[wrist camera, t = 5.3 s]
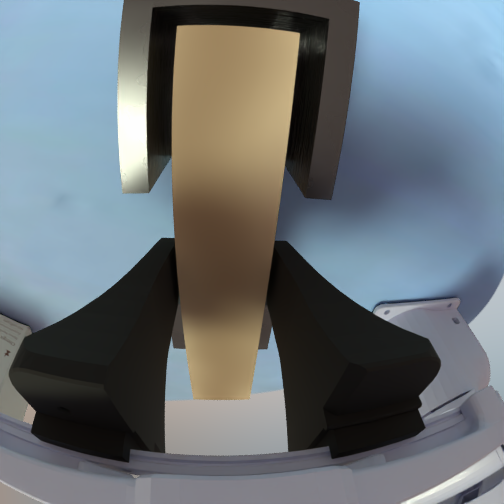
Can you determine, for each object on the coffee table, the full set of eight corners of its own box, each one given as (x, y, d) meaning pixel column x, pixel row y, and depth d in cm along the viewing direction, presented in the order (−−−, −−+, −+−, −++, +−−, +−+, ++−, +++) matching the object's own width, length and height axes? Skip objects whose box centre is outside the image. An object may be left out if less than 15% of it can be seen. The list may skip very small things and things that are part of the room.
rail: (274, 48, 9) (300, 33, 6) (244, 343, 18) (249, 399, 14) (193, 44, 9) (177, 25, 5) (196, 343, 17) (193, 399, 14)
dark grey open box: (303, 30, 10) (359, 2, 5) (290, 149, 13) (331, 199, 8) (167, 22, 9) (126, -14, 4) (162, 145, 13) (122, 193, 8)
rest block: (271, 282, 18) (275, 305, 16) (263, 326, 20) (267, 349, 18) (170, 280, 17) (166, 303, 15) (176, 325, 19) (173, 348, 17)
